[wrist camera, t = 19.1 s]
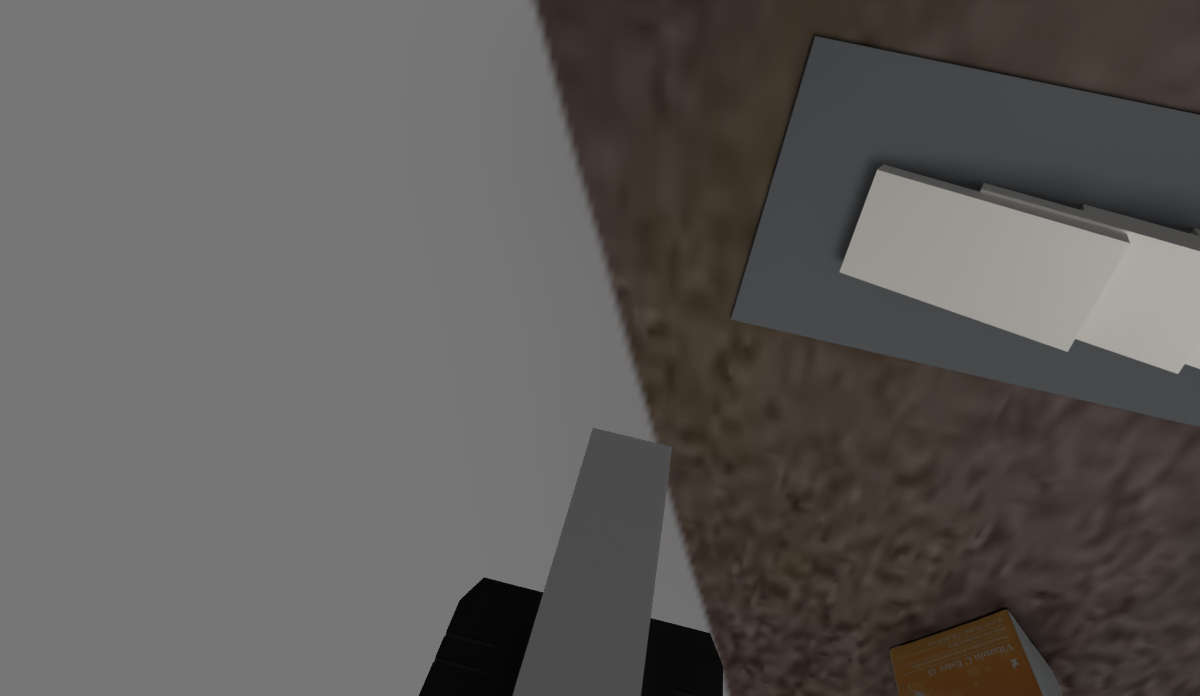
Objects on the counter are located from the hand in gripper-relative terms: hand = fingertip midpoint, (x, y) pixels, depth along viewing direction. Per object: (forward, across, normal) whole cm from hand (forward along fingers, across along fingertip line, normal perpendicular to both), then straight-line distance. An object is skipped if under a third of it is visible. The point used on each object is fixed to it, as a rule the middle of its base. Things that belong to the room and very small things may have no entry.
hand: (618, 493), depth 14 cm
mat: (+24, +18, 0) cm, 31 cm away
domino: (+23, +13, 0) cm, 27 cm away
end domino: (+23, +8, 0) cm, 25 cm away
